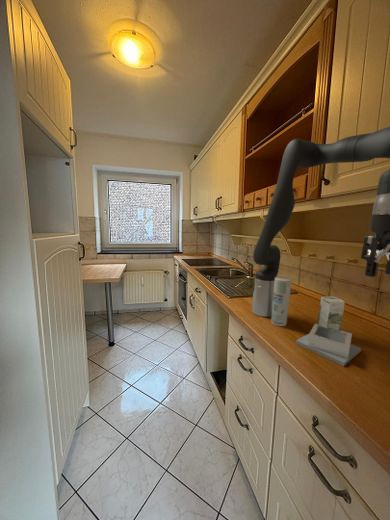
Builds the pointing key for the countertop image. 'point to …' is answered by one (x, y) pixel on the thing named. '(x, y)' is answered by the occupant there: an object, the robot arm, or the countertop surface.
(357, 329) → the countertop surface
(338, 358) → the board
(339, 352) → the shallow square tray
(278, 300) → the spray can
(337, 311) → the syrup box
